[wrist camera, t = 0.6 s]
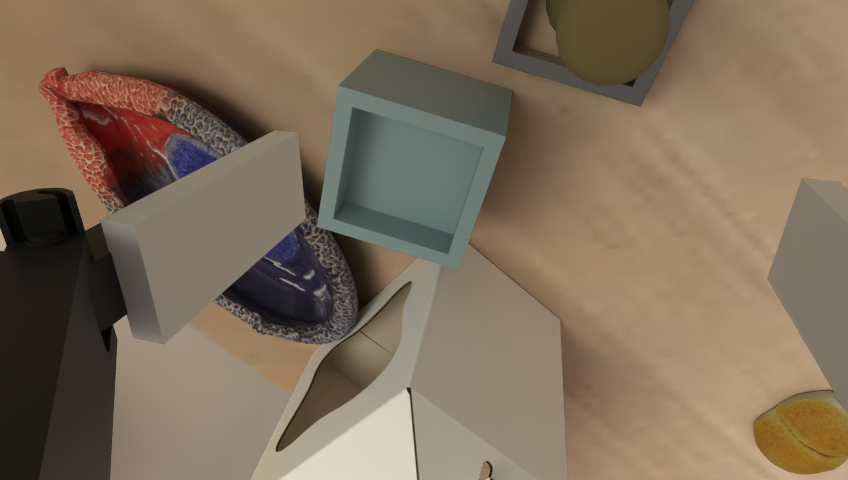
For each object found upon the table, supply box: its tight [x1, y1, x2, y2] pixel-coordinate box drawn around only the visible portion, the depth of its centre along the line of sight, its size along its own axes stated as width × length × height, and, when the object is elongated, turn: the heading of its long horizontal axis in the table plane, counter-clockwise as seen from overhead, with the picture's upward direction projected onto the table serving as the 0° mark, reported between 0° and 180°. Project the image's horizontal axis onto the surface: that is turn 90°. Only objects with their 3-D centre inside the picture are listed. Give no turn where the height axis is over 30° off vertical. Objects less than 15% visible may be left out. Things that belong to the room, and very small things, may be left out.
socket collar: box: [492, 0, 693, 107], centre depth 33 cm, size 10×10×2 cm
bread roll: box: [754, 391, 848, 474], centre depth 48 cm, size 8×9×4 cm
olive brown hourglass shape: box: [546, 0, 671, 86], centre depth 29 cm, size 6×6×11 cm
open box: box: [317, 49, 513, 270], centre depth 37 cm, size 10×10×8 cm
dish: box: [39, 68, 358, 344], centre depth 45 cm, size 16×31×5 cm, turn 40°
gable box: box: [251, 244, 567, 480], centre depth 40 cm, size 22×13×28 cm, turn 140°
